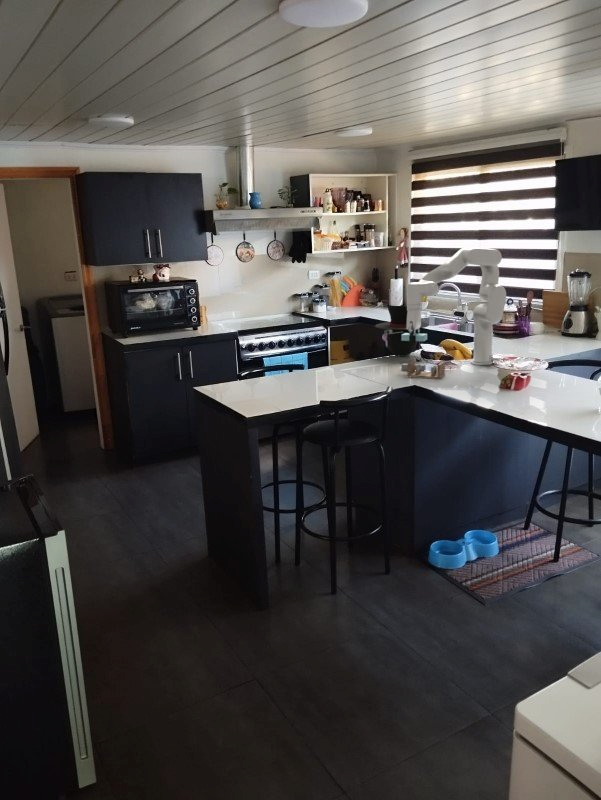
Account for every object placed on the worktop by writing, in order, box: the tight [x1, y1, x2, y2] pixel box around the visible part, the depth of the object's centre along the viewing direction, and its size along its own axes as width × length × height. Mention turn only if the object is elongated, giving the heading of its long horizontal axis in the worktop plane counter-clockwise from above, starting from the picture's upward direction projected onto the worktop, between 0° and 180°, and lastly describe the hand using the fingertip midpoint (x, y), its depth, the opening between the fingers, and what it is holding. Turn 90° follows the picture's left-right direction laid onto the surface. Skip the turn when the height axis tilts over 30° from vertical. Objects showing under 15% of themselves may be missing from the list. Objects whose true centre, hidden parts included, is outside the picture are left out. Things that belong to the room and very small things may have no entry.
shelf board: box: [401, 333, 428, 342], centre depth 322 cm, size 12×6×3 cm, turn 62°
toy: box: [374, 305, 429, 357], centre depth 362 cm, size 31×31×30 cm
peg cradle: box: [406, 359, 446, 380], centre depth 313 cm, size 17×9×7 cm, turn 63°
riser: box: [401, 363, 427, 372], centre depth 327 cm, size 12×3×3 cm, turn 63°
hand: (414, 341), depth 323 cm, fingers closed on shelf board, 5 cm apart
